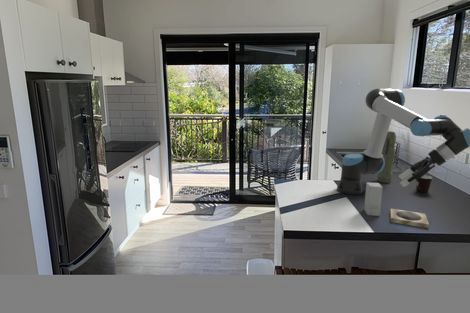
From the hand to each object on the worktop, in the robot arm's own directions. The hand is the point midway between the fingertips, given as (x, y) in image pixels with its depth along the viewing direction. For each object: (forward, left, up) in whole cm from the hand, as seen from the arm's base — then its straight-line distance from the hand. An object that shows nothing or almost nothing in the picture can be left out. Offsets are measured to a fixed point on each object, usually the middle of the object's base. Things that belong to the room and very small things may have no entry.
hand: (400, 181), depth 157 cm
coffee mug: (+16, +53, -19) cm, 59 cm away
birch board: (+5, -2, -19) cm, 20 cm away
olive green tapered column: (-6, +66, -19) cm, 69 cm away
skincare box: (-12, -1, -19) cm, 22 cm away
